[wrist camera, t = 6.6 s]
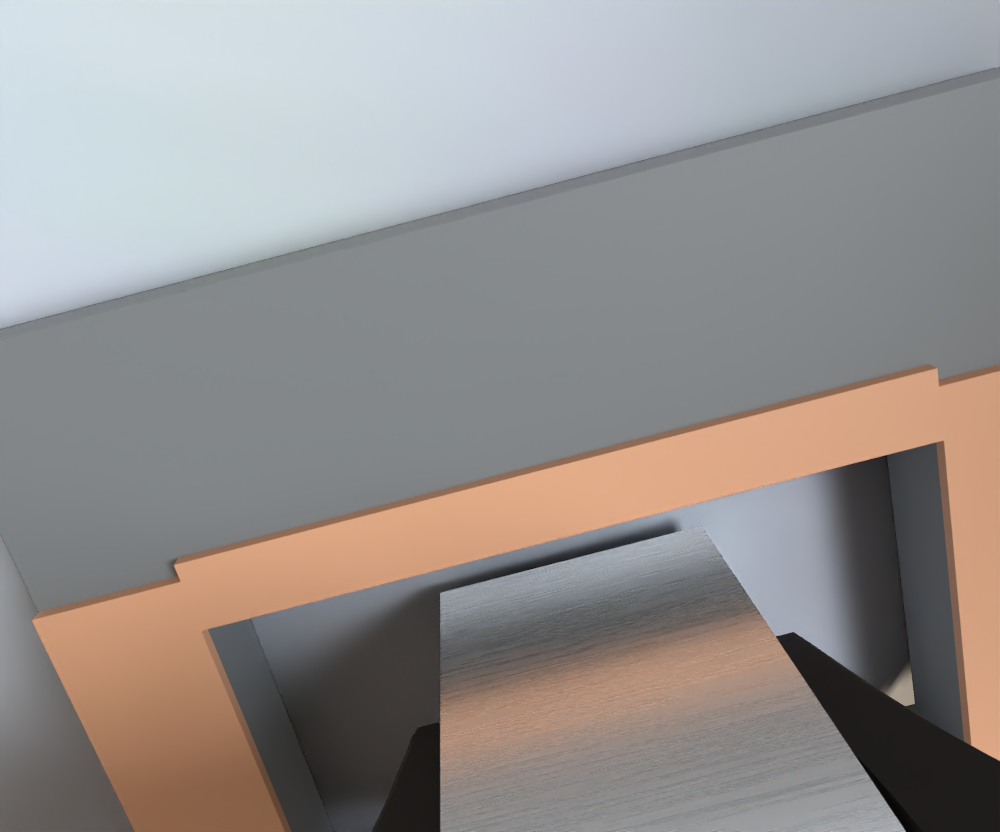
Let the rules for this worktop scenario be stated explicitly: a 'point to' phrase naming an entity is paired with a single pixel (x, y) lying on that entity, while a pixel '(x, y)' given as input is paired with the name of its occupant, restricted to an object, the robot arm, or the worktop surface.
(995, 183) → the rail plate
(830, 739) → the block
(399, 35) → the worktop surface
